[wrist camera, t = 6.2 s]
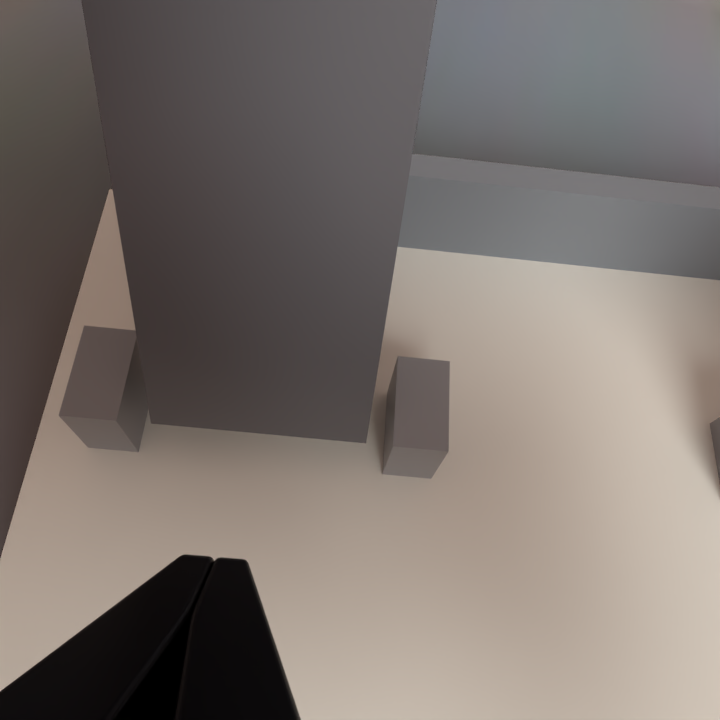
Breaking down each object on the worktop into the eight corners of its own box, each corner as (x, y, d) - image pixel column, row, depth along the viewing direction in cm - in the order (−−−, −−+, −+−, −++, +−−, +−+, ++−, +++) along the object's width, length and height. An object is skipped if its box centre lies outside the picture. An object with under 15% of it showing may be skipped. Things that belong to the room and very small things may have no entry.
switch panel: (1029, 774, 15) (1392, 821, 10) (24, 698, 14) (-129, 708, 9) (893, 336, 20) (1091, 220, 15) (137, 259, 19) (78, 109, 14)
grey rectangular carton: (363, 460, 13) (443, -44, 7) (153, 441, 13) (66, -91, 7) (366, 387, 14) (434, -78, 9) (178, 369, 14) (122, -117, 9)
